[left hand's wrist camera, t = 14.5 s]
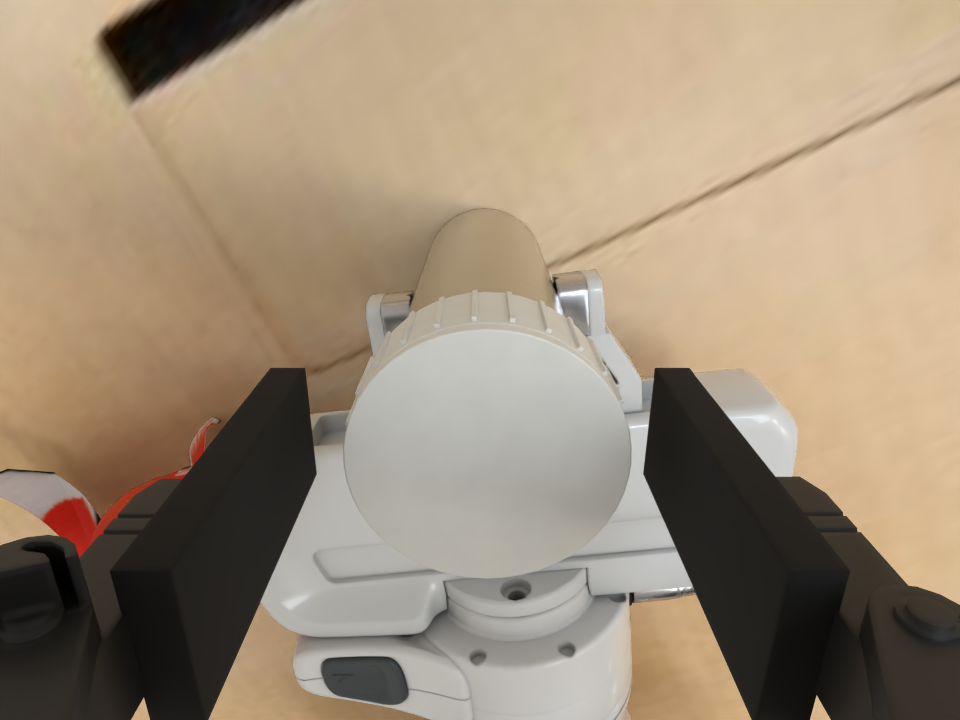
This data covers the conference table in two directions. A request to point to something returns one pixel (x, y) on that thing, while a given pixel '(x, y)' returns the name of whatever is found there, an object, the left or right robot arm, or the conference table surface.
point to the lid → (487, 437)
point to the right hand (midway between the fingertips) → (481, 286)
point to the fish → (77, 498)
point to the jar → (484, 261)
